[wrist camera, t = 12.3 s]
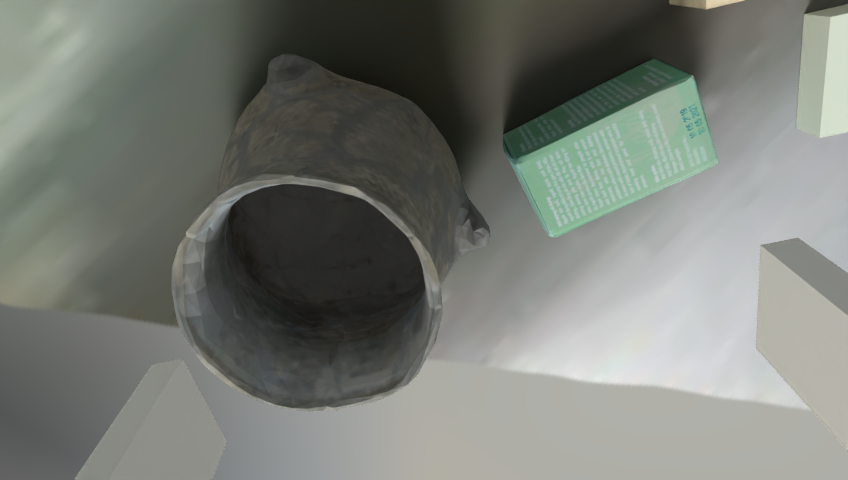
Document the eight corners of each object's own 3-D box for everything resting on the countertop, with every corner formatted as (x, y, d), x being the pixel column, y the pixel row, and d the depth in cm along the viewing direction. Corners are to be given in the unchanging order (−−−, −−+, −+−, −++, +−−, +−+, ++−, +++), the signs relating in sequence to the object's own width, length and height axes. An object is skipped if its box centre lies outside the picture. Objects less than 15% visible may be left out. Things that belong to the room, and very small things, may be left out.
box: (496, 135, 46) (510, 164, 39) (652, 54, 43) (696, 70, 37) (531, 206, 49) (550, 244, 42) (679, 134, 46) (724, 163, 39)
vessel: (444, 7, 42) (463, 36, 24) (492, 260, 51) (531, 417, 33) (174, 73, 43) (2, 145, 26) (269, 304, 53) (192, 475, 35)
